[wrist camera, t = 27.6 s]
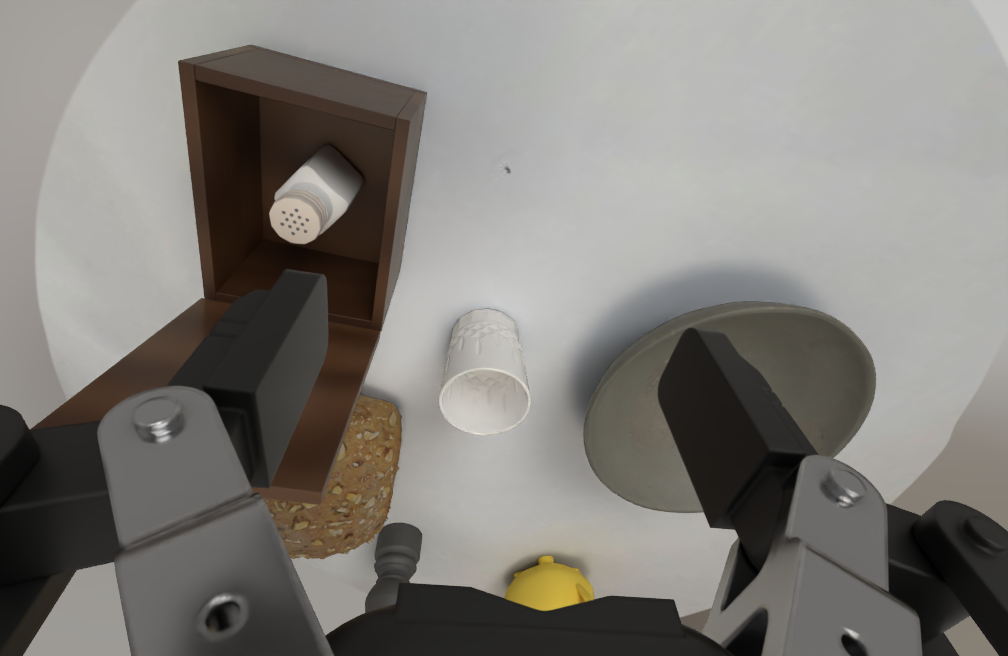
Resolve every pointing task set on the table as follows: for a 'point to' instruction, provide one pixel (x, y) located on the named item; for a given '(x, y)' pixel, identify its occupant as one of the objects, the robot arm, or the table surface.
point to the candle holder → (393, 563)
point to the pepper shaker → (315, 196)
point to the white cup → (484, 375)
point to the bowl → (765, 345)
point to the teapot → (549, 586)
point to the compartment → (279, 154)
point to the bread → (348, 488)
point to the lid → (318, 423)
